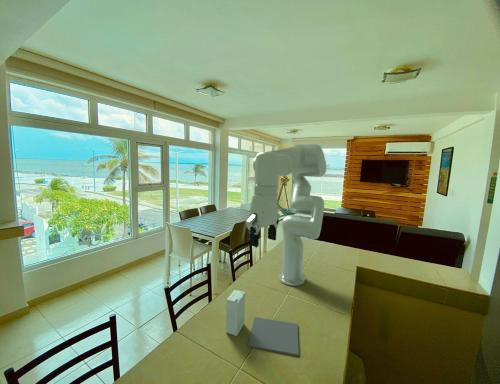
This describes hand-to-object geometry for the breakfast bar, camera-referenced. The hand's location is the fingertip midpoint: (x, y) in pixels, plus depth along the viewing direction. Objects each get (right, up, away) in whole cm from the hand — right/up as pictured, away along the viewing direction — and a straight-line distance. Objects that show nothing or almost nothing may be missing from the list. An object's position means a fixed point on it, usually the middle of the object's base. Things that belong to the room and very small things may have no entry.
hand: (263, 242), depth 69 cm
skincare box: (-9, -29, +1) cm, 31 cm away
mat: (+3, -30, -1) cm, 30 cm away
